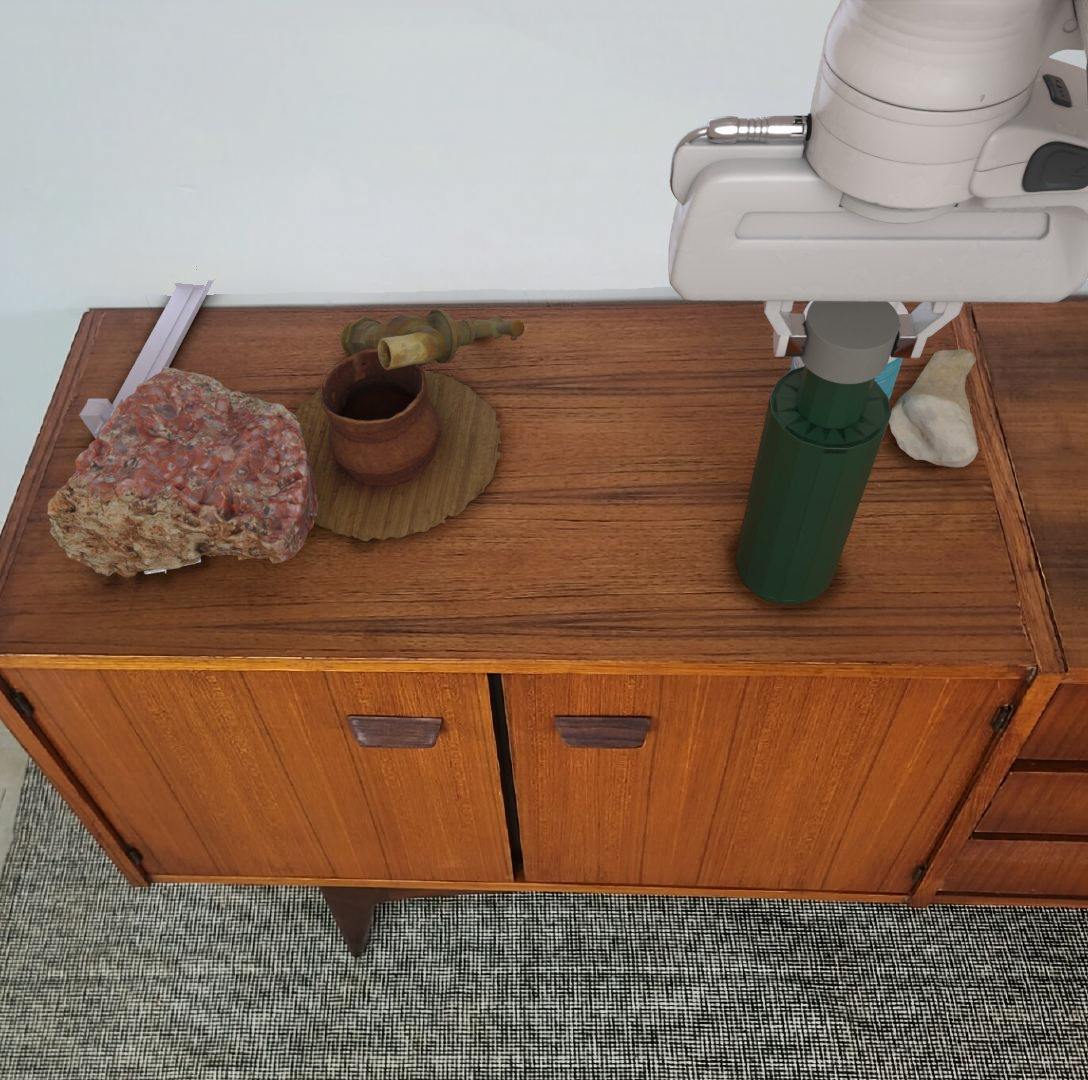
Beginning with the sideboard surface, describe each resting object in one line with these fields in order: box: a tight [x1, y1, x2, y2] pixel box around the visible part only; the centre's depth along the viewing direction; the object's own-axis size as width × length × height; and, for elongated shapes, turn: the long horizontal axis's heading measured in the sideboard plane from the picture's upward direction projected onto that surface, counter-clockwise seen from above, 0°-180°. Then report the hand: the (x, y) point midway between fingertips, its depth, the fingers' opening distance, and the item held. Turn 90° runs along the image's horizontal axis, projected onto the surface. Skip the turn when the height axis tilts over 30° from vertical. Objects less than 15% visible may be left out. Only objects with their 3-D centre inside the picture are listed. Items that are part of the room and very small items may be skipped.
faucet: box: [340, 308, 525, 370], centre depth 85 cm, size 15×4×15 cm
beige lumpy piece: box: [888, 348, 979, 468], centre depth 81 cm, size 11×6×5 cm, turn 167°
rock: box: [46, 366, 318, 579], centre depth 77 cm, size 17×10×15 cm
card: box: [143, 557, 202, 575], centre depth 80 cm, size 9×3×1 cm, turn 111°
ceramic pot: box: [294, 349, 502, 542], centre depth 81 cm, size 18×18×7 cm
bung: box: [801, 301, 900, 384], centre depth 59 cm, size 5×5×4 cm
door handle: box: [78, 266, 215, 440], centre depth 90 cm, size 21×3×3 cm
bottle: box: [735, 365, 892, 606], centre depth 68 cm, size 7×7×20 cm
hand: (844, 349), depth 59 cm, fingers closed on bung, 5 cm apart
